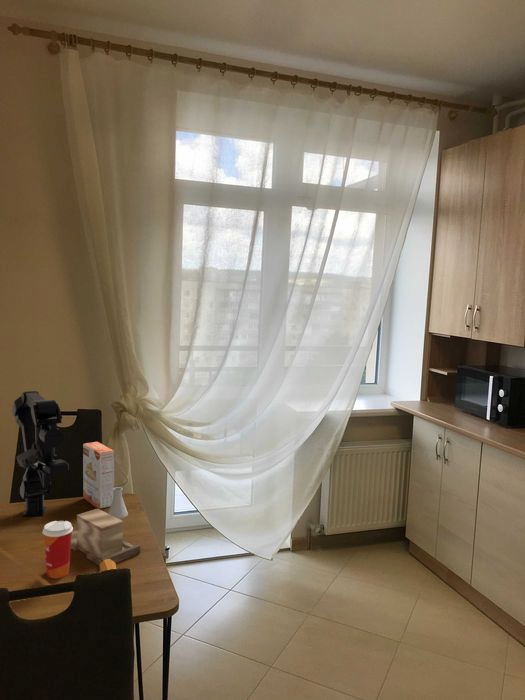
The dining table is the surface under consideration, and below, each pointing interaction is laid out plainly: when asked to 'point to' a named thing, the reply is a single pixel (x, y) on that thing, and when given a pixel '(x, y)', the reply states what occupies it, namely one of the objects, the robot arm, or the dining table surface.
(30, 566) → the dining table surface
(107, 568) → the carrot
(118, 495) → the flask
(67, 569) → the paper cup
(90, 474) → the cracker box
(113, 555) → the tan shallow tray
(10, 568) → the dining table surface
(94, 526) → the tea box
